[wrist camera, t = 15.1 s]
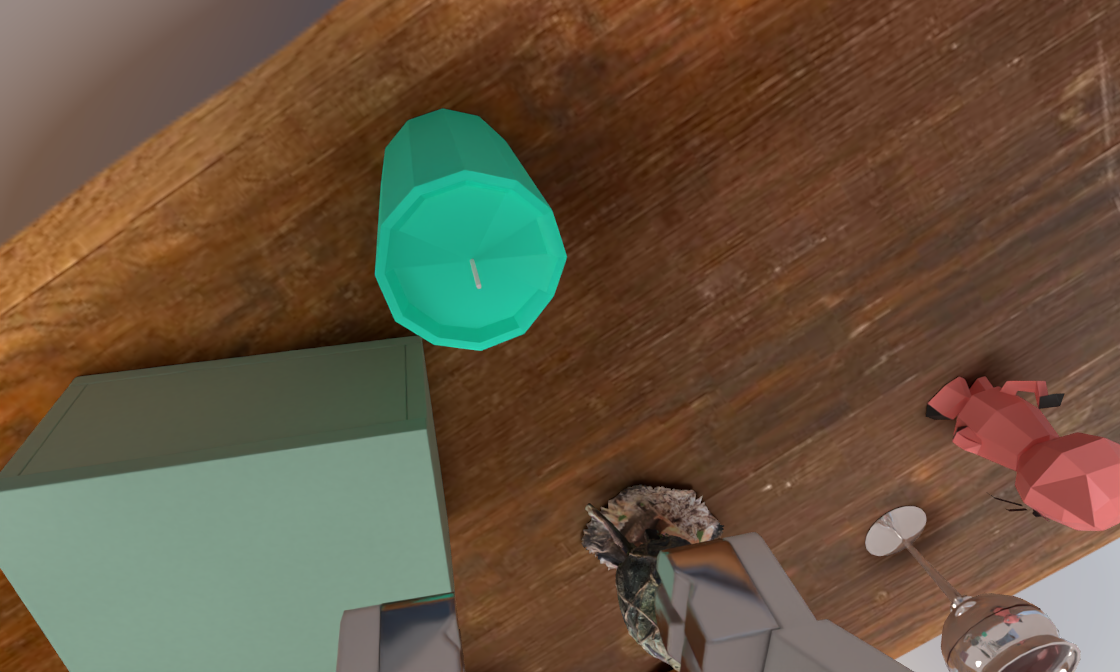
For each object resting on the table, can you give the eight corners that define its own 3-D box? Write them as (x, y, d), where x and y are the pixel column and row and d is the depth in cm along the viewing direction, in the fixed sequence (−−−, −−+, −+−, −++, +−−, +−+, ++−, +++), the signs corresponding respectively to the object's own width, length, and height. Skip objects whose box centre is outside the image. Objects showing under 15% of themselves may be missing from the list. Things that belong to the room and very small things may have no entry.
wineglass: (906, 483, 46) (1051, 627, 36) (953, 516, 49) (1099, 658, 39) (837, 546, 48) (957, 701, 38) (886, 575, 51) (1009, 725, 41)
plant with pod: (654, 430, 39) (855, 785, 22) (730, 531, 45) (938, 874, 28) (543, 504, 40) (653, 900, 23) (632, 593, 46) (774, 964, 29)
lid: (-34, 482, 23) (-47, 498, 22) (425, 416, 25) (426, 429, 25) (109, 705, 29) (102, 723, 29) (458, 634, 32) (460, 648, 32)
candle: (434, 265, 31) (454, 407, 21) (350, 159, 28) (325, 265, 18) (540, 194, 31) (613, 305, 20) (466, 79, 28) (508, 140, 17)
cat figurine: (900, 438, 44) (1053, 578, 34) (939, 348, 41) (1121, 474, 31) (985, 434, 46) (1156, 567, 36) (1029, 348, 43) (1230, 467, 32)
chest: (75, 376, 30) (-17, 491, 23) (421, 334, 33) (428, 426, 26) (162, 569, 36) (109, 704, 29) (447, 520, 39) (458, 633, 32)
